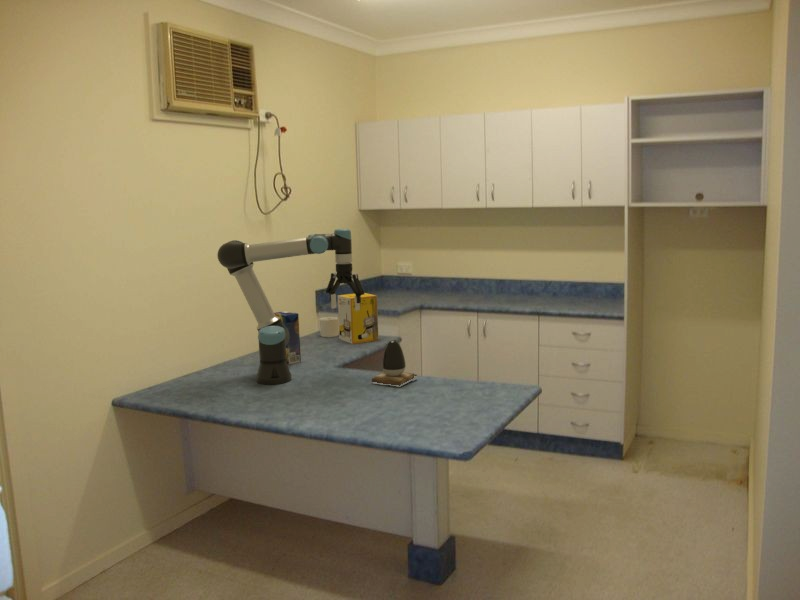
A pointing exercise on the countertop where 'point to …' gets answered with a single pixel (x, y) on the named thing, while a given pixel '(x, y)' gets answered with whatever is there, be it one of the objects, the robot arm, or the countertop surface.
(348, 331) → the packaging box
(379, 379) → the stand
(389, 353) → the pump dispenser
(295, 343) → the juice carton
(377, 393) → the countertop surface
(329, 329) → the toilet tissue
